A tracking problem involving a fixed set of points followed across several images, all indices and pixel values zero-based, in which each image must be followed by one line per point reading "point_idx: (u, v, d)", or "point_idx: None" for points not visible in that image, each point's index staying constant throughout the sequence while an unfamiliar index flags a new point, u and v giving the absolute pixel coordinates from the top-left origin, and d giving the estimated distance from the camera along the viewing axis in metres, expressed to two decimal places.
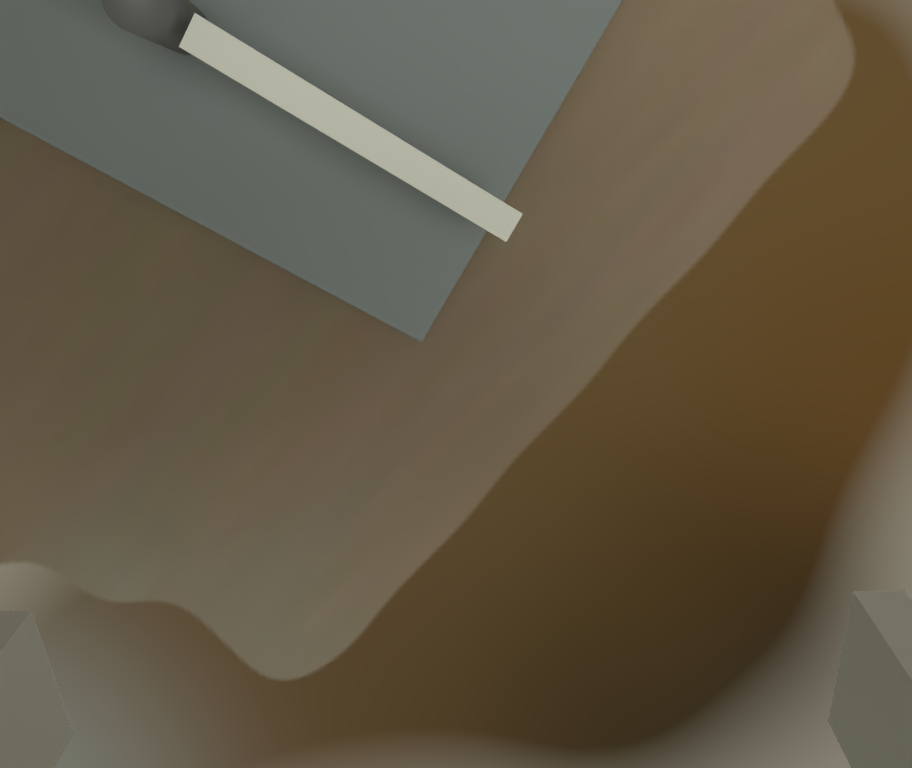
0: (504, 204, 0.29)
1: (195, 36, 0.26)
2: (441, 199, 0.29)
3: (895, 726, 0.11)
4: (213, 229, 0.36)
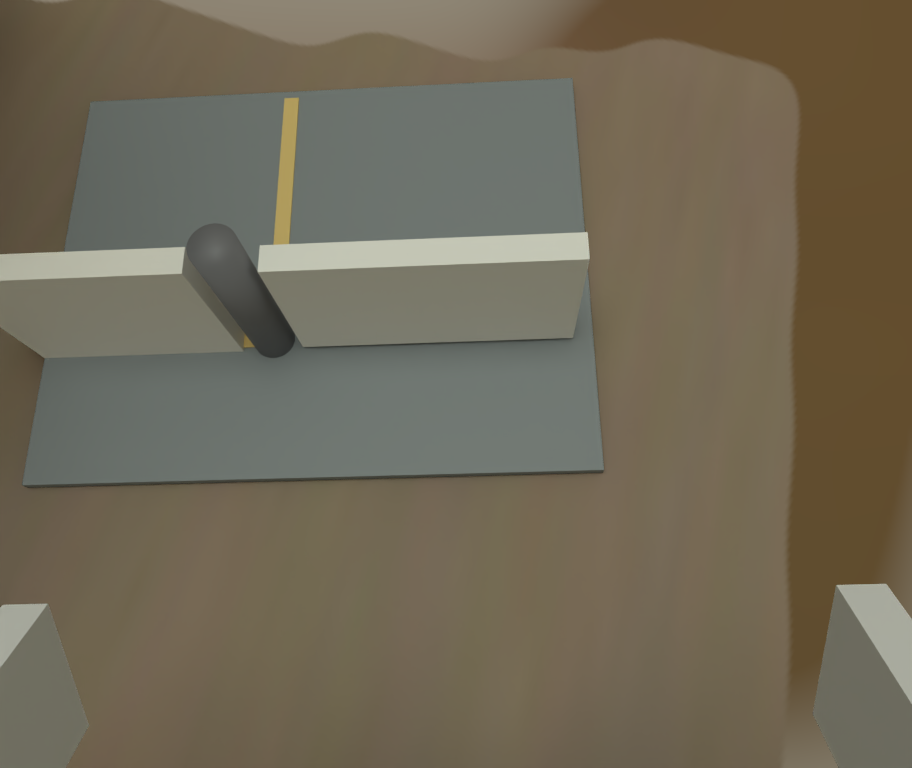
0: (567, 234, 0.31)
1: (266, 259, 0.31)
2: (513, 259, 0.31)
3: (875, 717, 0.11)
4: (363, 474, 0.36)
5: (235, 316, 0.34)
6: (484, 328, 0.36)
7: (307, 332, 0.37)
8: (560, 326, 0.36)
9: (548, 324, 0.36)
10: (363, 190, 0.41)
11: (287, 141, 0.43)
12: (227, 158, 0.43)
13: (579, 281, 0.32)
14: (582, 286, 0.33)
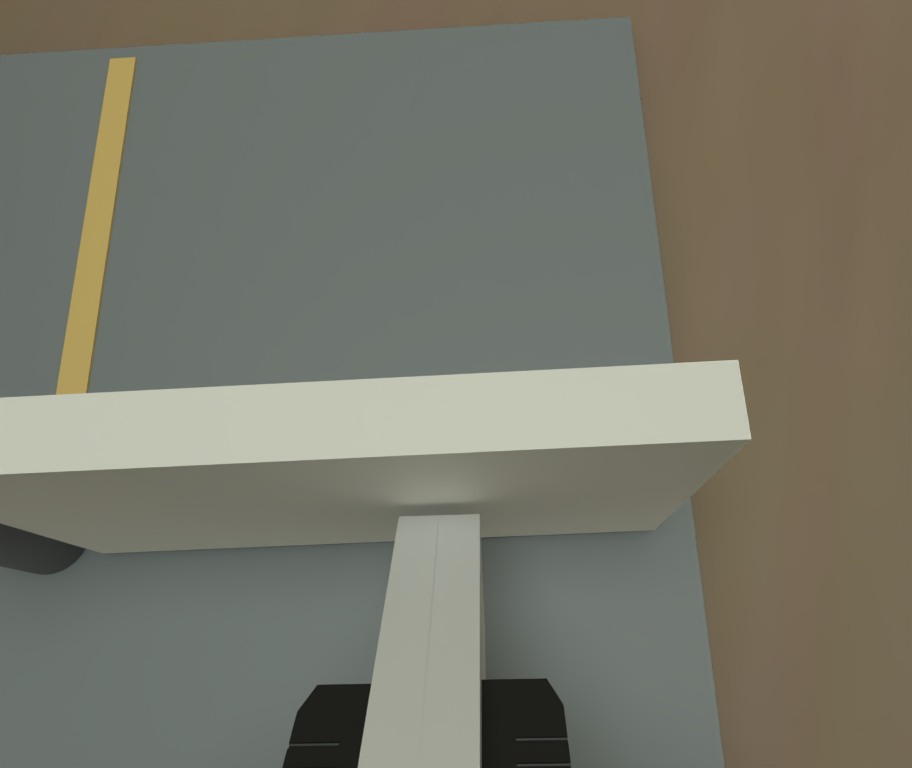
0: (683, 366, 0.12)
1: None
2: (542, 441, 0.11)
3: None
4: None
5: None
6: None
7: (93, 541, 0.17)
8: (632, 520, 0.17)
9: (608, 519, 0.17)
10: (243, 227, 0.22)
11: (109, 136, 0.23)
12: None
13: (704, 470, 0.13)
14: (707, 477, 0.13)
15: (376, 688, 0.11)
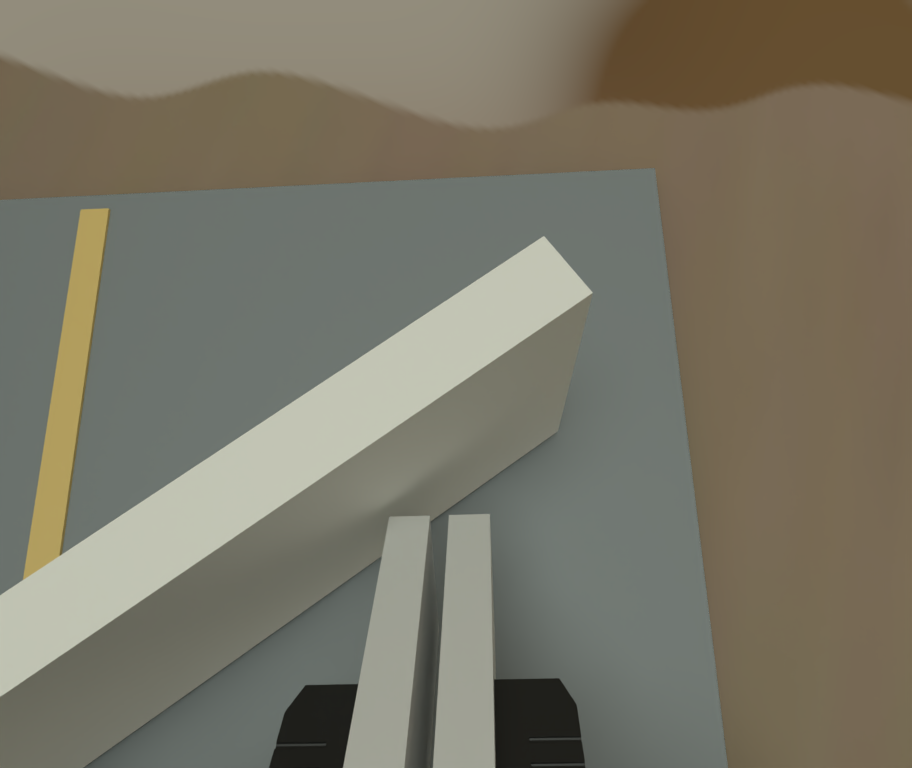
0: (504, 266, 0.12)
1: None
2: (427, 396, 0.11)
3: None
4: None
5: None
6: None
7: (60, 764, 0.16)
8: (536, 432, 0.18)
9: (516, 443, 0.17)
10: (226, 416, 0.20)
11: (79, 302, 0.21)
12: None
13: (570, 346, 0.13)
14: (575, 351, 0.14)
15: (363, 689, 0.11)
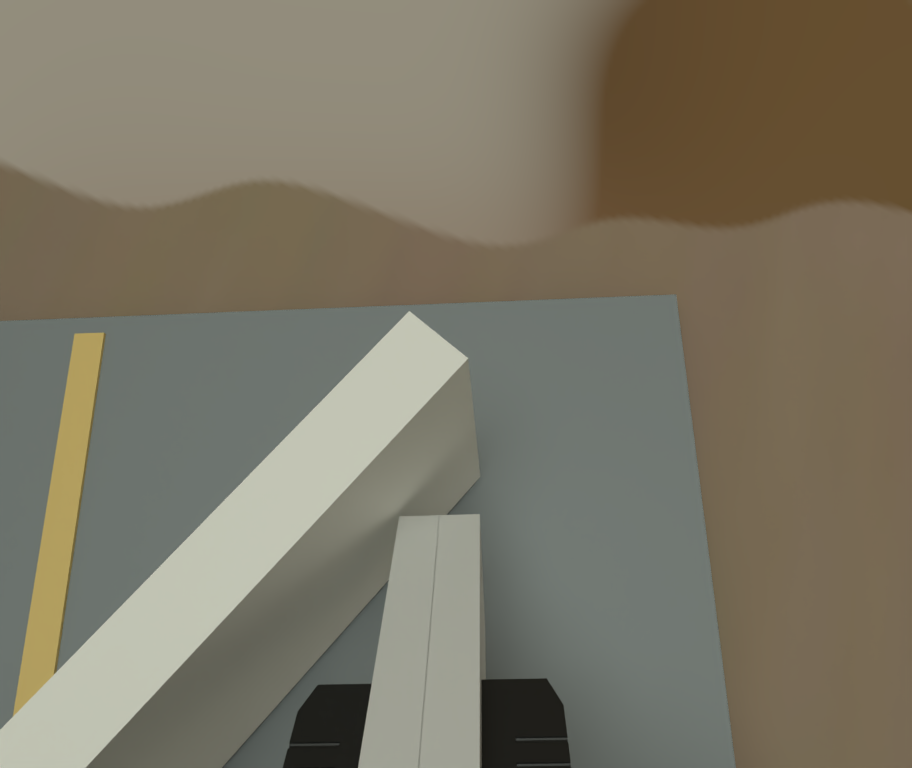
0: (376, 350, 0.12)
1: None
2: (325, 500, 0.11)
3: None
4: None
5: None
6: (347, 608, 0.17)
7: None
8: (457, 485, 0.17)
9: (440, 501, 0.17)
10: None
11: (72, 436, 0.20)
12: None
13: (463, 407, 0.13)
14: (471, 409, 0.14)
15: (376, 688, 0.11)
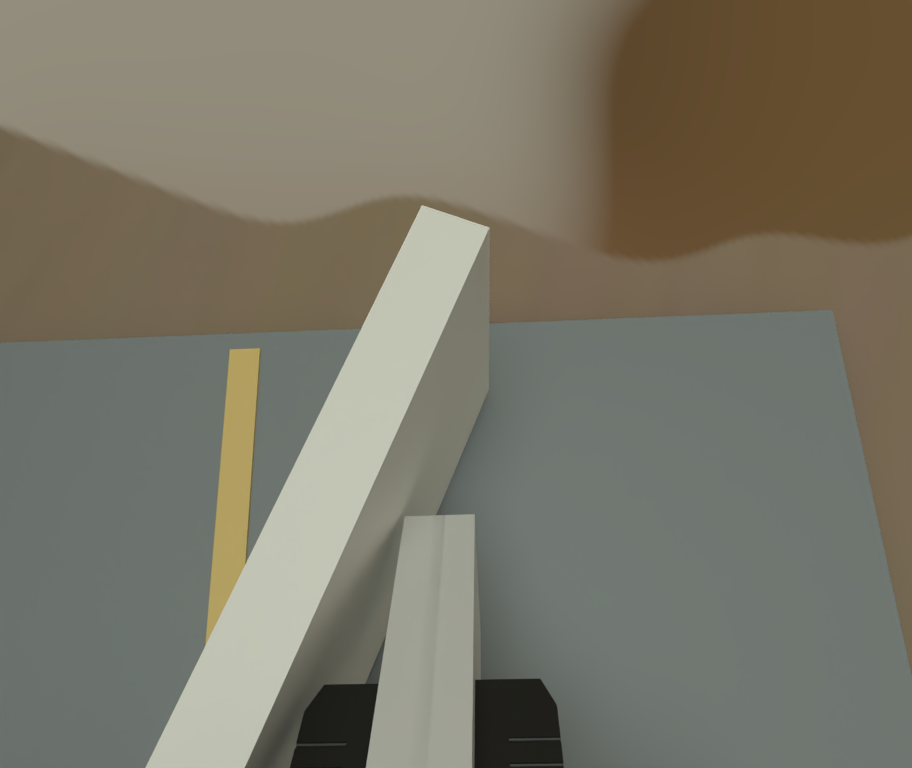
0: (405, 245, 0.13)
1: None
2: (412, 380, 0.12)
3: None
4: None
5: None
6: None
7: None
8: (478, 395, 0.18)
9: (469, 412, 0.18)
10: None
11: (234, 453, 0.20)
12: (104, 493, 0.20)
13: (484, 290, 0.15)
14: (488, 294, 0.15)
15: (384, 688, 0.11)
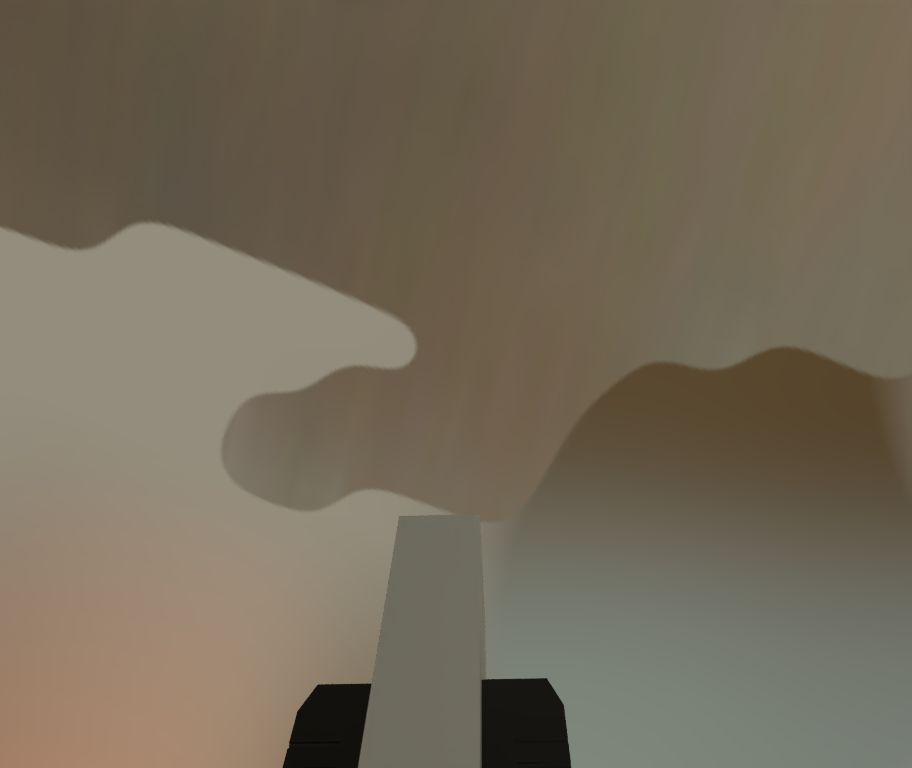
0: None
1: None
2: None
3: None
4: None
5: None
6: None
7: None
8: None
9: None
10: None
11: None
12: None
13: None
14: None
15: (376, 688, 0.11)
